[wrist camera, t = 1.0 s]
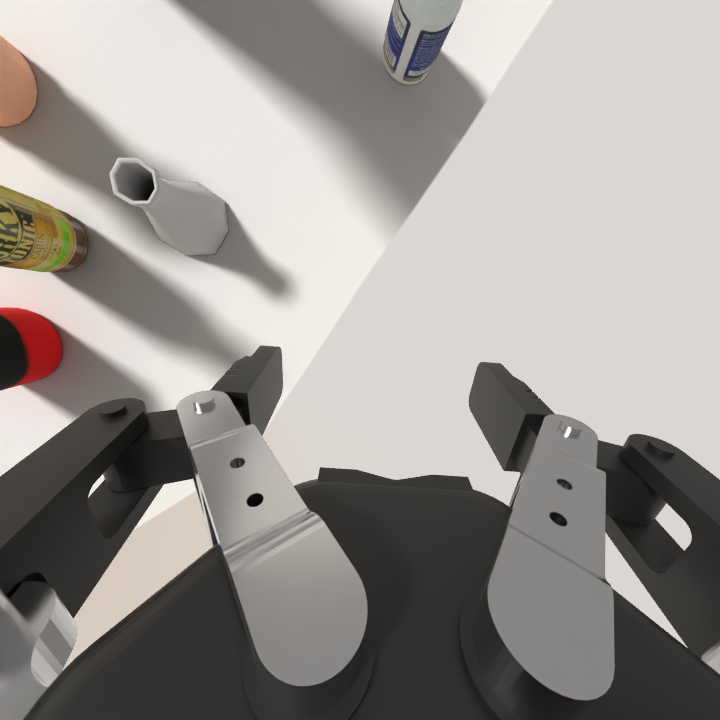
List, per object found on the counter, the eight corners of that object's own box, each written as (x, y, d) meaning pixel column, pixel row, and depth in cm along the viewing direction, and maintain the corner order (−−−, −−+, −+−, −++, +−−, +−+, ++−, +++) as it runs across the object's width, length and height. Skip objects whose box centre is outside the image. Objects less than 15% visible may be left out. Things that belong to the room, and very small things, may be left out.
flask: (160, 171, 29) (82, 105, 20) (236, 195, 31) (197, 145, 21) (149, 245, 30) (69, 218, 21) (222, 265, 32) (180, 249, 22)
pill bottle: (440, 43, 31) (495, -74, 21) (419, 97, 31) (464, 7, 22) (393, 13, 29) (429, -124, 20) (373, 69, 30) (398, -38, 21)
